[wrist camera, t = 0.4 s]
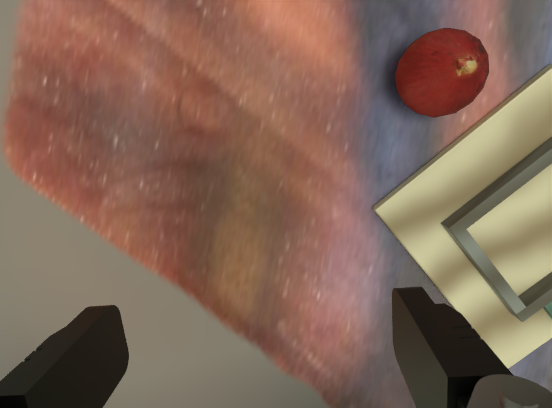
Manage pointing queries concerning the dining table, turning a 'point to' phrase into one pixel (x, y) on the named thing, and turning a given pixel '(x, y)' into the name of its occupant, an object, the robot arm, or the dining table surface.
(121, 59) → the dining table surface
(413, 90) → the onion
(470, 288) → the cradle board
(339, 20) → the dining table surface
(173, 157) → the dining table surface
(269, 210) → the dining table surface
